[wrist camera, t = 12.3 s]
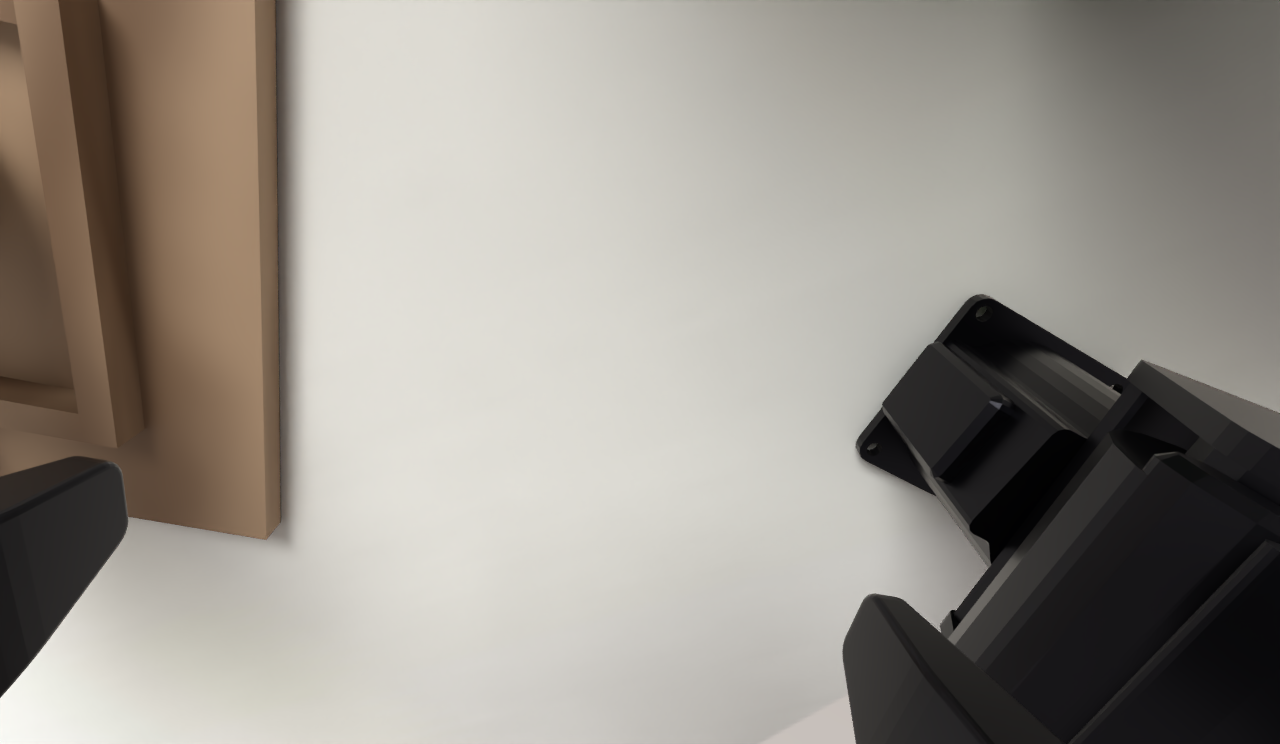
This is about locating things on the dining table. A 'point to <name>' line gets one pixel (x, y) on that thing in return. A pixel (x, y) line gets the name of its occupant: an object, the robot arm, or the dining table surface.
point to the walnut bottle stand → (143, 251)
